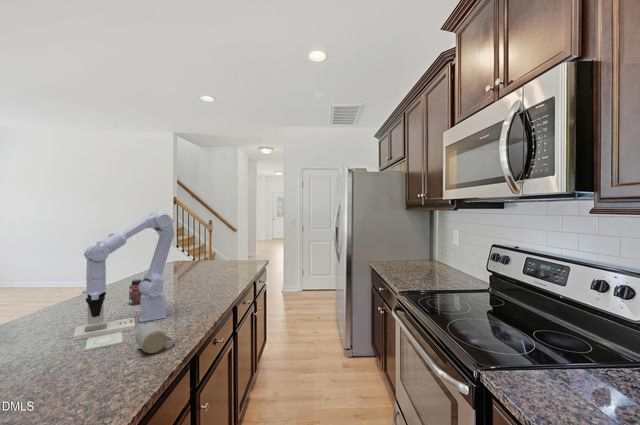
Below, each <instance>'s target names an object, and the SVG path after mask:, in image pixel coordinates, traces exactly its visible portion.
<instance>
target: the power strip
mask: <svg viewBox="0 0 640 425" xmlns="http://www.w3.org/2000/svg"><path fill="white" fill-rule="evenodd" d="M135 330H136V323H135V317H129V318H123V319H116V320H111V321H103V322H101V323H95V324H89V325H88V324H84V325H80V326H76V327H75V330H74V334H73V335H72V336H73V337H72V338H73V341H79V340H84V339H88V338H92V337H98V336H103V335H109V334H114V333H120V332H122V333H123V332H129V331H135Z"/></svg>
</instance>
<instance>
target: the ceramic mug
mask: <svg viewBox="0 0 640 425" xmlns="http://www.w3.org/2000/svg"><path fill="white" fill-rule="evenodd" d="M175 341H176V340H175V339H174V338H173V337H170V336H167V334H166V333H165V331H164V330H163V329H162V328H161V326H160V325H159V324H157V323H155V322H148V323H145V324H143V325H141V327H140V328H138V330H137V331H136V334H135V342H136V344H137V345H138V346H139V347H140V348H141V350H142V351H144V353H147V354H150V355H151V354H152V355H153V354H155V353H158V352H161V350H163V349H164V347H165V346H166V347H173V346H174V344H175Z"/></svg>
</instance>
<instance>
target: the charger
mask: <svg viewBox="0 0 640 425" xmlns="http://www.w3.org/2000/svg"><path fill="white" fill-rule="evenodd" d="M104 312H105V307H104V301H103V303H102V306H101V312H100V315H99V316H98V317H92V315H91V311H90V307H89V305H88V304H87V325H91V324H97V323H103V322H104Z"/></svg>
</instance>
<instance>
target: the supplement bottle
mask: <svg viewBox="0 0 640 425" xmlns="http://www.w3.org/2000/svg"><path fill="white" fill-rule="evenodd" d="M141 281H142V279H140V278H139V279H138V278H137V279H132V280H131V284H130V285H129V291H128V292H129V293H128V294H129V295H128V304H129V305H130V306H137V304H138V305H141V293H140V292H139V290H138V286H139V284H140V282H141Z"/></svg>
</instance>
